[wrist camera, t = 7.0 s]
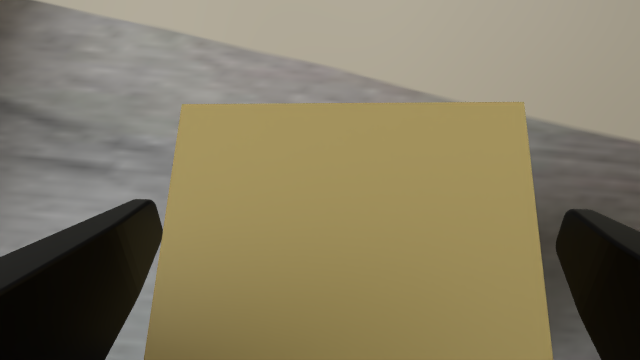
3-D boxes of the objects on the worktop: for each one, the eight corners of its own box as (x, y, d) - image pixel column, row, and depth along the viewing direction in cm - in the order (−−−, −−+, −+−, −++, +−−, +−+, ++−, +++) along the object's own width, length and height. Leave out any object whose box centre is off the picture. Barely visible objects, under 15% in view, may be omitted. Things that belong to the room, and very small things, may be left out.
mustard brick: (410, 352, 15) (572, 531, 4) (295, 346, 16) (124, 488, 4) (408, 235, 16) (524, 102, 5) (301, 233, 17) (181, 104, 5)
